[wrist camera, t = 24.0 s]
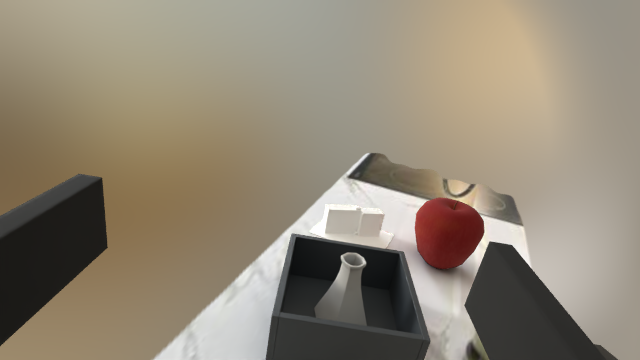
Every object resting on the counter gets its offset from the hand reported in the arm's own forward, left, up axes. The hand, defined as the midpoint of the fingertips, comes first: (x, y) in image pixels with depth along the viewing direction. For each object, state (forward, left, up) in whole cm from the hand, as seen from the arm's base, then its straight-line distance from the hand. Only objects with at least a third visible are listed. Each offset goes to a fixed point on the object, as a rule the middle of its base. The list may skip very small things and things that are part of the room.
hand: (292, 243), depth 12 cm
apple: (+26, +49, -30) cm, 63 cm away
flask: (+7, +29, -29) cm, 42 cm away
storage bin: (+7, +29, -30) cm, 42 cm away
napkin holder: (+10, +54, -30) cm, 63 cm away
